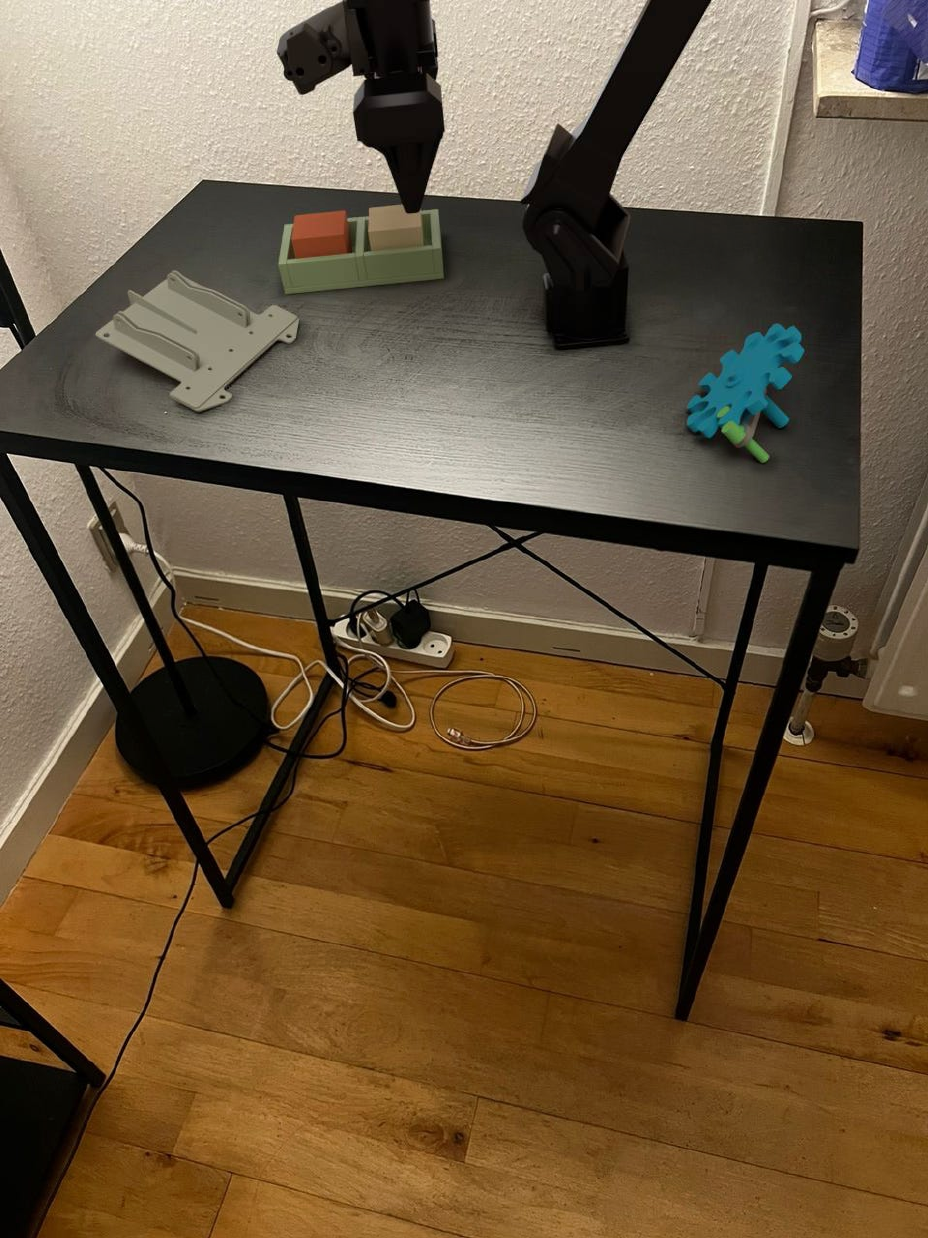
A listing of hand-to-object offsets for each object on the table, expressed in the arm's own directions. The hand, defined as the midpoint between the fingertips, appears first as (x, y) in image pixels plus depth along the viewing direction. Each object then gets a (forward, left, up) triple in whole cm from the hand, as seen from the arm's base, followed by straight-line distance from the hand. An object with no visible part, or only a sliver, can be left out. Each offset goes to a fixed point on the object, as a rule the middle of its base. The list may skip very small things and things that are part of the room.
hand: (412, 186), depth 77 cm
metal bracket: (+21, +2, -12) cm, 24 cm away
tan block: (+2, -11, -11) cm, 16 cm away
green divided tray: (+6, -11, -12) cm, 17 cm away
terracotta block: (+10, -11, -11) cm, 19 cm away
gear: (-23, +20, -12) cm, 33 cm away
